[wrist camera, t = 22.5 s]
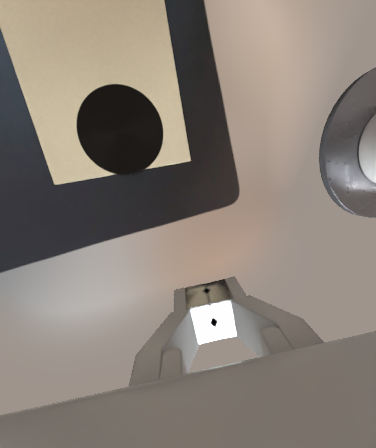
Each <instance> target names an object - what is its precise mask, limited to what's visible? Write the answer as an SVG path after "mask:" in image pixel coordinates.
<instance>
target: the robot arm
mask: <svg viewBox="0 0 376 448" xmlns="http://www.w3.org/2000/svg"><path fill="white" fill-rule="evenodd" d="M359 162H360V166H361V169H362V171H363V173H364V174H365V176H366V177H367V178H368V179H369V180H371V181H372V182H374V183H376V113H375V114H374V116H373V117H372V118H371V119H370V121H369V122H368V123H367V125H366V127H365V129H364V131H363V133H362V136H361V140H360V144H359ZM235 336H237V337H238V338H239V339H240V340H241V341H242V342H243V343H245V344H246V345H247V346H248V347H249V348H250V349H252V350H253V351H254V352H255V353H256V354H258V355H259V356H260V357H259V358H254V359H250V360H245V361H241V362H237V363H232V364H227V365H223V366H218V367H214V368H209V369H205V370H200V371H196V372H191V373H188V371H189V369H190V366H191V364H192V361H193V359H194V356H195V354H196V351H197V349H198V346H199V344H203V343H207V342H211V341H214V340H217V339H218V340H219V339H224V338H229V337H235ZM0 448H376V331H375V332H370V333H366V334H361V335H357V336H352V337H348V338H343V339H339V340H335V341H330V342H326V343H324V342H323V341H322V340H321V338H320V337H319V336H318V335H317V334H316V333H315V332H314V331H313V330H312V328H311V327H310V326H309V325H308V324H307V323H306V322H305V321H304V320H303V319H302V318H300V317H298V316H295V315H293V314H291V313H289V312H286V311H284V310H282V309H279V308H277V307H275V306H272V305H270V304H268V303H266V302H264V301H261V300H259V299H257V298H254V297H252V296H250V295H249V296H246V294H245V293H244V291H243V289H242V288H241V286H240V284H239V283H238V282H237V279H236V278H235V277H231V278H227V279H223V280H219V281H215V282H211V283H207V284H200V285H195V286H190V287H186V288H181V289H176V290H175V291H174V312H172V313H170V314H169V316H168V317H167V318H166V319H165V321H164V322H163V323H162V324H161V325H160V327H159V328H158V329H157V330H156V331H155V333H154V334H153V335H152V337H151V338H150V339H149V340H148V341H147V343H146V344H145V345H144V346H143V347H142V349H141V350H140V351H139V352H138V354H137V355H136V357H135V361H134V366H133V370H132V374H131V378H130V383H129V387H125V388H121V389H116V390H112V391H108V392H103V393H99V394H94V395H89V396H85V397H80V398H76V399H71V400H67V401H62V402H58V403H53V404H49V405H45V406H40V407H35V408H31V409H27V410H22V411H18V412H14V413H9V414H4V415H0Z"/></svg>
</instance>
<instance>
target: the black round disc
mask: <svg viewBox="0 0 376 448" xmlns="http://www.w3.org/2000/svg"><path fill="white" fill-rule="evenodd" d="M76 127H77V134H78V139H79V141H80V144H81V146H82V148H83V150H84V151H85V153H86V155H87V156H88V157H89V158H90V159H91V160H92V161H93V162H94V163H95V164H96V165H98V166H99V167H100V168H102V169H104V170H106V171H108V172H111V173H114V174H118V175H133V174H137V173H140V172H142V171H144V170H146V168H147V167H149V166H150V165H151V164H152V163H153V162H154V161H155V159H156V158H157V156H158V155H159V153H160V150H161V147H162V143H163V125H162V121H161V118H160V115H159V113H158V111H157V109H156V108H155V106H154V105H153V103H152V102H151V101H150V100H149V99H148V98H147V97H146V96H145V95H144V94H143V93H141V92H140V91H138V90H136V89H134V88H132V87H129V86H126V85H122V84H109V85H104V86H102V87H99V88H97V89H95V90H94V91H92V92H91V93H90V94H89V95H88V96H87V97H86V98H85V99H84V101H83V102H82V104H81V106H80V108H79V111H78V115H77V124H76Z"/></svg>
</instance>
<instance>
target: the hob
mask: <svg viewBox="0 0 376 448" xmlns="http://www.w3.org/2000/svg"><path fill="white" fill-rule="evenodd" d="M0 28H1V31H2V33H3V36H4V39H5V42H6V45H7V48H8V51H9V54H10V57H11V60H12V62H13V65H14V68H15V71H16V74H17V77H18V80H19V83H20V86H21V89H22V92H23V94H24V97H25V100H26V103H27V106H28V109H29V112H30V115H31V118H32V121H33V124H34V126H35V129H36V132H37V135H38V138H39V141H40V144H41V147H42V150H43V153H44V155H45V158H46V161H47V164H48V167H49V170H50V173H51V176H52V179H53V182H54V184H55V185H59V184H64V183H70V182H76V181H81V180H87V179H93V178H98V177H104V176H110V175H115V174H114V173H111V172H108V171H106V170H104V169H102V168H100V167H99V166H98V165H96V164H95V163H94V162H93V161H92V160H91V159H90V158H89V157H88V156H87V155H86V153H85V151H84V150H83V148H82V146H81V144H80V141H79V139H78V134H77V127H76V124H77V115H78V111H79V108H80V106H81V104H82V102H83V101H84V99H85V98H86V97H87V96H88V95H89V94H90V93H91V92H92V91H94V90H95V89H97V88H99V87H102V86H104V85H109V84H122V85H126V86H129V87H132V88H134V89H136V90H138V91H140V92H141V93H143V94H144V95H145V96H146V97H147V98H148V99H149V100H150V101H151V102H152V103H153V105H154V106H155V108H156V109H157V111H158V113H159V115H160V118H161V121H162V125H163V143H162V147H161V150H160V153H159V155H158V156H157V158H156V159H155V161H154V162H153V163H152V164H151V165H150V166H149V167H147V168H146V169H150V168H155V167H161V166H167V165H172V164H178V163H184V162H189V161H191V159H190V153H189V147H188V141H187V135H186V129H185V123H184V117H183V111H182V105H181V99H180V93H179V87H178V81H177V75H176V69H175V63H174V57H173V51H172V44H171V38H170V32H169V26H168V20H167V14H166V8H165V2H164V0H0Z"/></svg>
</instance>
